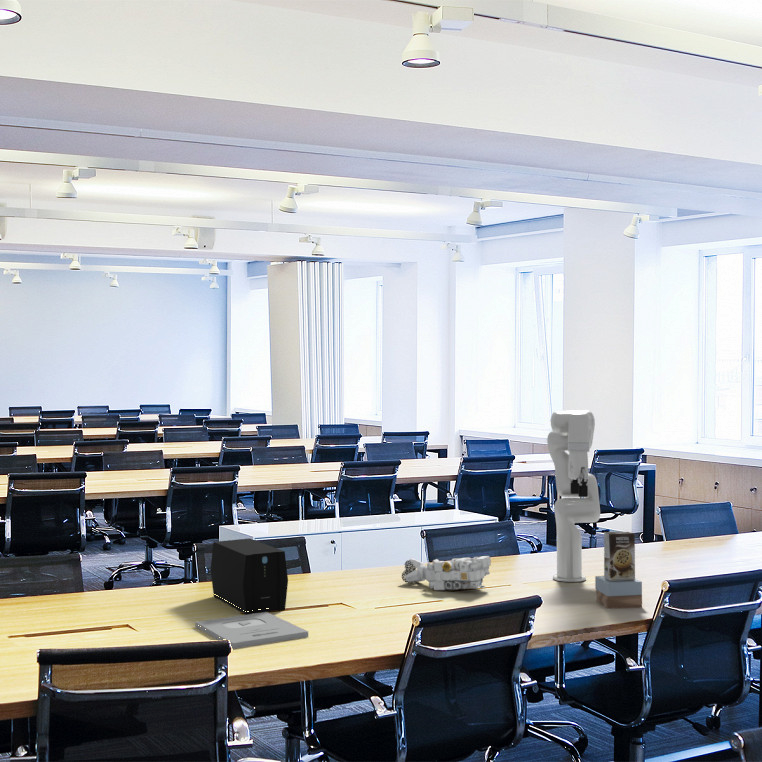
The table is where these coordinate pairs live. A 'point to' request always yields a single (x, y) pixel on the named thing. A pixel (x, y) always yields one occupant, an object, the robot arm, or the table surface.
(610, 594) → the block upper
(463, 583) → the spaceship
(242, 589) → the uninterruptible power supply
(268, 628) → the award plaque
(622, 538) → the coffee box
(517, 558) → the table surface
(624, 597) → the block lower
